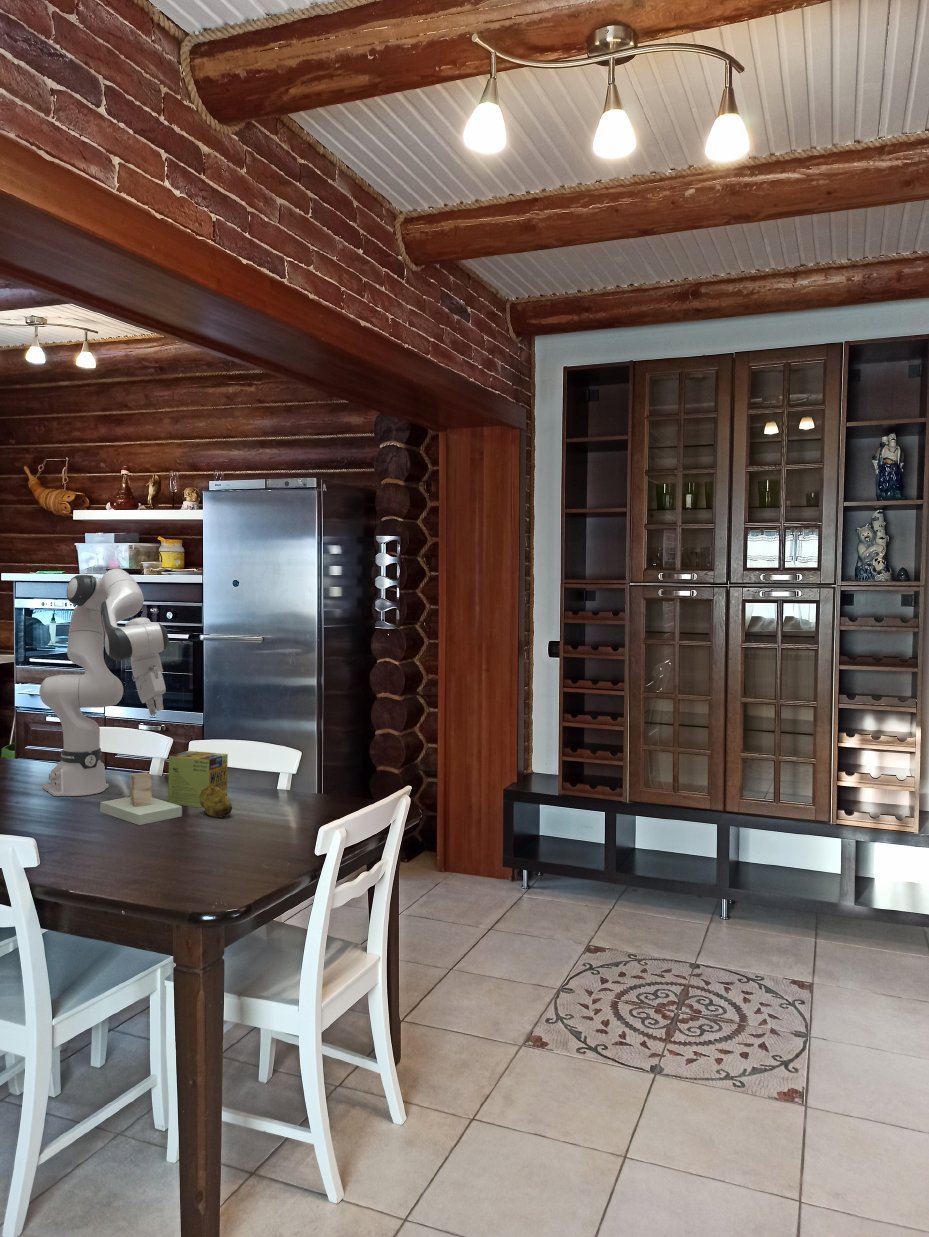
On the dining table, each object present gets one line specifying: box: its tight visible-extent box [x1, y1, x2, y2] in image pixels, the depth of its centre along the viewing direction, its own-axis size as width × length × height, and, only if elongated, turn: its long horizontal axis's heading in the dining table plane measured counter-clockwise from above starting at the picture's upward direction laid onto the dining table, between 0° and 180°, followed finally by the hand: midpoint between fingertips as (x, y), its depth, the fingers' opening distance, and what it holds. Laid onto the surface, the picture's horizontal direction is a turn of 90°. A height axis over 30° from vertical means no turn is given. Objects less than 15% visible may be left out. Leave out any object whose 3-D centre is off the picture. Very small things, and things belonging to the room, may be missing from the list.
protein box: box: [167, 750, 228, 809], centre depth 290 cm, size 10×15×16 cm
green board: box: [99, 796, 183, 826], centre depth 274 cm, size 22×14×3 cm, turn 50°
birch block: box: [129, 771, 153, 807], centre depth 274 cm, size 5×5×9 cm
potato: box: [200, 786, 233, 818], centre depth 276 cm, size 8×13×8 cm, turn 26°
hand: (156, 712), depth 283 cm, fingers open, 8 cm apart
